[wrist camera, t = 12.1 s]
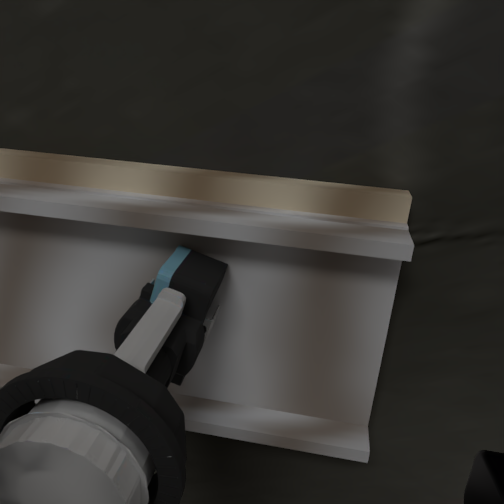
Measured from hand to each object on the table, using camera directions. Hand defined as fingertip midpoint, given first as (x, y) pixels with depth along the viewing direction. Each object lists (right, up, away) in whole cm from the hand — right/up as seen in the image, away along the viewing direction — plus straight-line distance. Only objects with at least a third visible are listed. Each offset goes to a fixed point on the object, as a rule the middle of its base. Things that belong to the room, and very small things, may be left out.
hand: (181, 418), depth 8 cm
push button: (-2, 0, +13) cm, 13 cm away
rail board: (-2, +1, +14) cm, 14 cm away
